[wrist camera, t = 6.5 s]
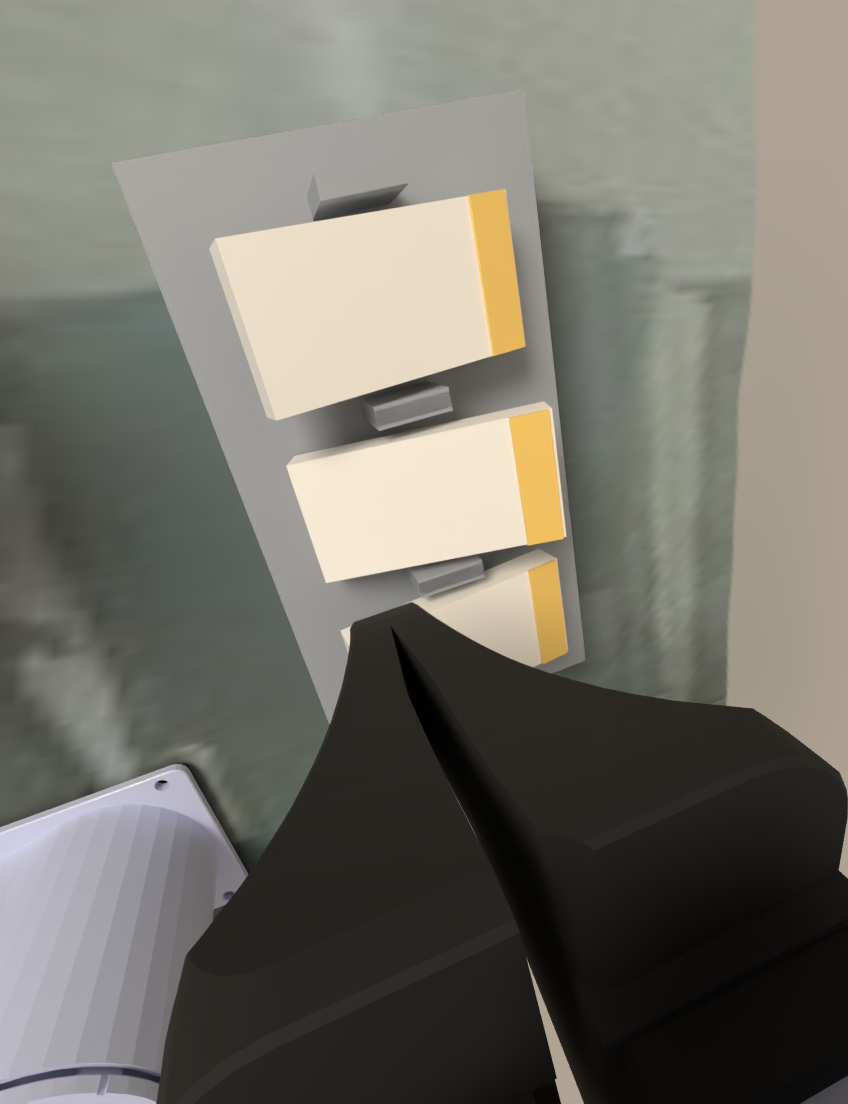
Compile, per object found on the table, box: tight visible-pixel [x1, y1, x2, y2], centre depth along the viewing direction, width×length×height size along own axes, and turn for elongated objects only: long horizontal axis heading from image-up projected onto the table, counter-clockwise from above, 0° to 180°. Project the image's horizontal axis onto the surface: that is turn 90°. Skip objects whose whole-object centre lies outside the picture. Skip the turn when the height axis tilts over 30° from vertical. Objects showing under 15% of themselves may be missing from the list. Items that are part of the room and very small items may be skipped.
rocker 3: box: [341, 549, 568, 667], centre depth 17 cm, size 7×4×1 cm, turn 104°
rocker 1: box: [209, 189, 526, 421], centre depth 13 cm, size 7×4×1 cm, turn 105°
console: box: [111, 89, 586, 724], centre depth 17 cm, size 10×18×5 cm, turn 14°
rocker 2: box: [286, 401, 566, 583], centre depth 15 cm, size 7×4×1 cm, turn 103°
